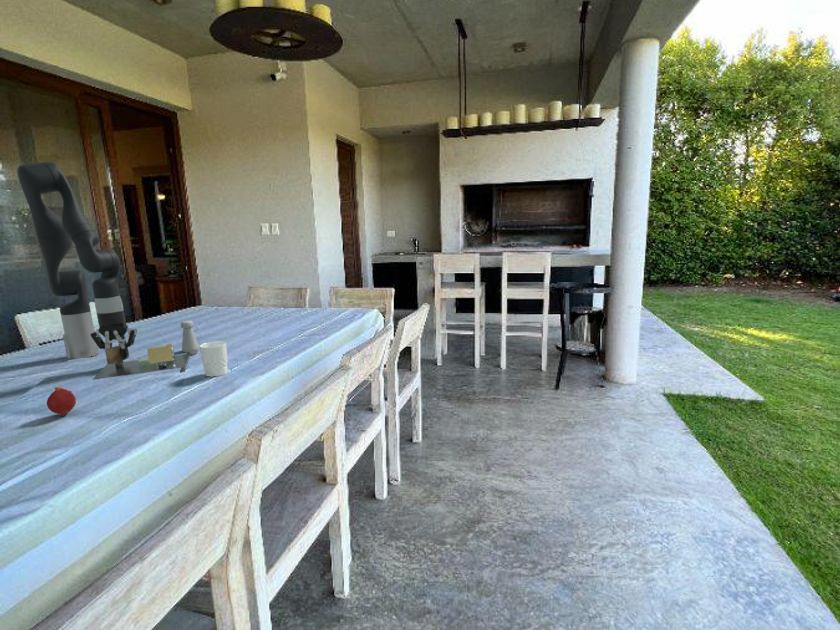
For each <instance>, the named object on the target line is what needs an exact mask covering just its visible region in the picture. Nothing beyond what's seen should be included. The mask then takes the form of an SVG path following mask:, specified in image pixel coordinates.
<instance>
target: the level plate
mask: <svg viewBox="0 0 840 630" xmlns="http://www.w3.org/2000/svg"><path fill="white" fill-rule="evenodd" d="M174 349H175V348H174V346H172V350H173V357H174V360H173V361H166V365H167V366H166V367H158V363H150V364H149V358H148V357H147V358H140V359H136V360H128V361H123V364H124V366H122V367H115V364H105V365H104V367H103V368H102V369H100V371H99V372H98V373H97V374H96V375H95V376H94V377H93V378H91V379H92V380H99V379H109V378H114V377H115V378H116V377H122V376H128V375H129V376H131V375H138V374H145V373H152V372H159V371H166V370H174V369H180V370H179V373H183V372H182V371H184V372H186V371H187V368H188V365H187V364H189V362H190V359H191V356H190V354H187V353H185V354H177V355H175V350H174ZM188 361H189V362H188ZM186 367H187V368H186ZM185 370H186V371H185Z"/></svg>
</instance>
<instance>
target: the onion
mask: <svg viewBox="0 0 840 630" xmlns="http://www.w3.org/2000/svg"><path fill="white" fill-rule="evenodd" d="M76 403H77V400H76V395H74V394H73V392H72V391H70V390H69V389H66V388H62V387H61V386H56V387H54V391H53V392H51V393H50V395H49V396H48V398H47V400H46V406H47V408H48V410H49V411H50V412H52V413H54V414H57V415H59V416H62V417H63V416H66V415H68V413H70V412H71V411H72V410H73V409H74V407H75V405H76Z"/></svg>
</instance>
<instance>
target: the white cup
mask: <svg viewBox="0 0 840 630" xmlns="http://www.w3.org/2000/svg"><path fill="white" fill-rule="evenodd" d="M198 346H199V352H200V357H201V363H202V367H203V369H204V376H206V377H207V376H210V378H213V376H216V377H221V376H224V375H226V374H228V372H229V370H228V368H229V367H228V351H227V350H228V349H227V342H226V341H221V340H220V341H219V340H218V341H209V342H204V343H202V344H200V345H198Z"/></svg>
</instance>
